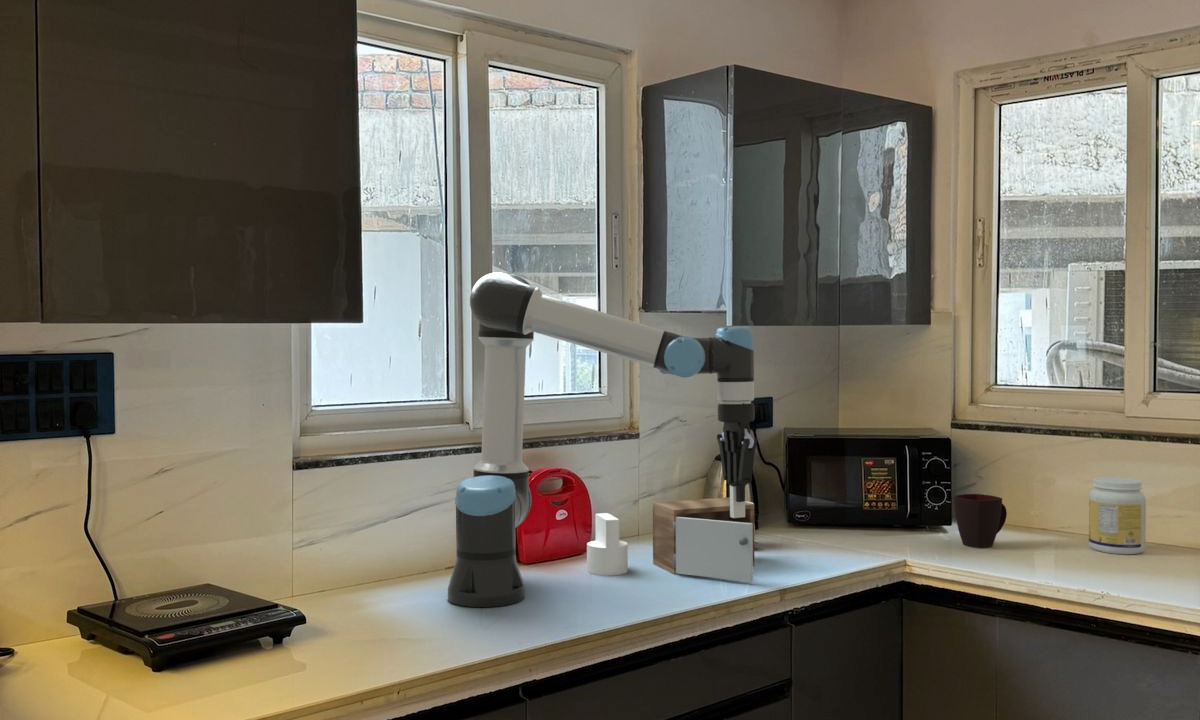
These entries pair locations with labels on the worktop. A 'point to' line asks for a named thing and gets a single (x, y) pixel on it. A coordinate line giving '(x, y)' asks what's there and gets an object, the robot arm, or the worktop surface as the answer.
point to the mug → (979, 518)
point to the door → (713, 548)
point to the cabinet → (690, 509)
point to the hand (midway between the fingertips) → (737, 516)
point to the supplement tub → (1117, 516)
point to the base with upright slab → (607, 548)
